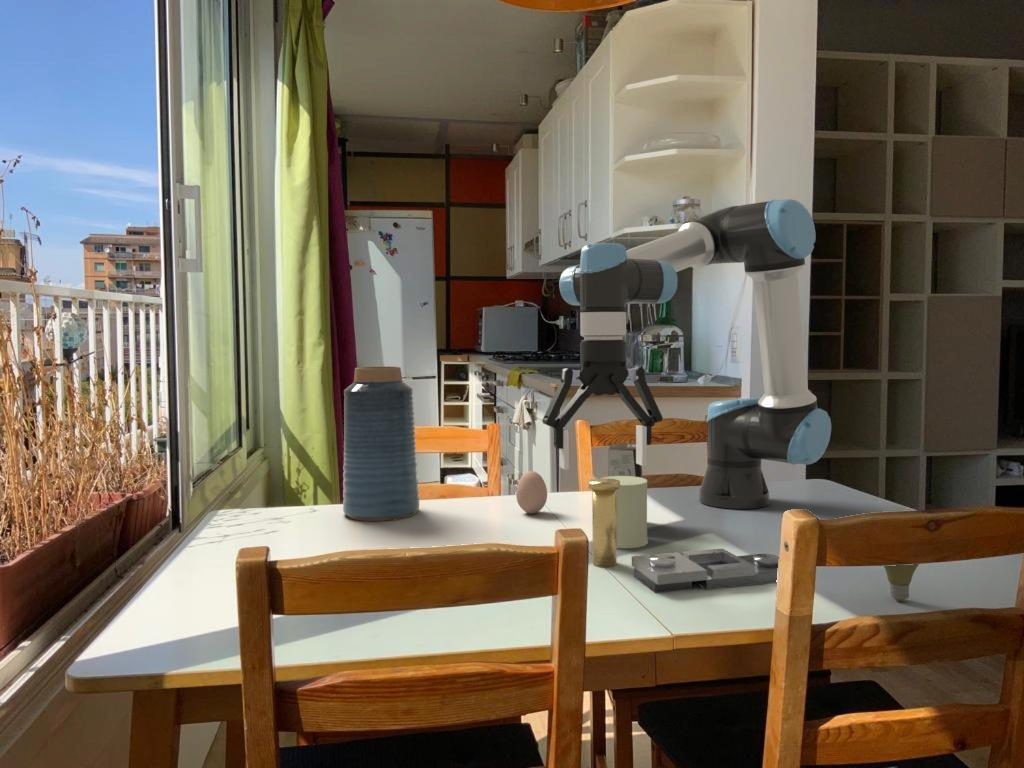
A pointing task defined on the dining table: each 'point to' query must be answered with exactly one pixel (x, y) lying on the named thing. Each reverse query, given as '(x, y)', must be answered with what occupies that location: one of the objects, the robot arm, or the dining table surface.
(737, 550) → the dining table surface
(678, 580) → the link plates
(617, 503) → the can
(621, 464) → the coffee box
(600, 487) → the pin
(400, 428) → the vase
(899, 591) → the light bulb
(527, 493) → the egg
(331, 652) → the dining table surface
